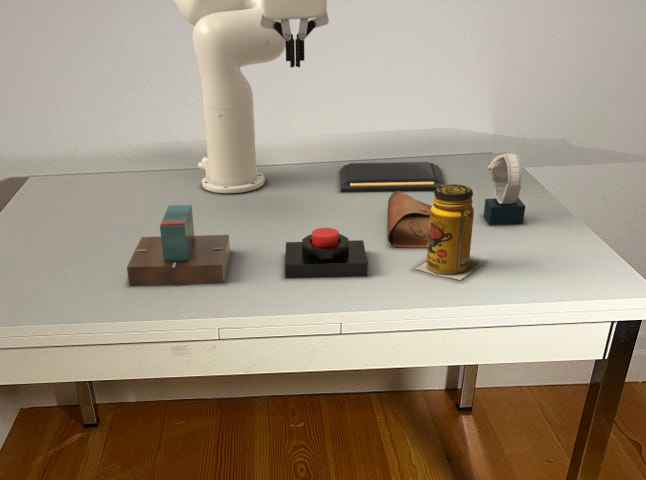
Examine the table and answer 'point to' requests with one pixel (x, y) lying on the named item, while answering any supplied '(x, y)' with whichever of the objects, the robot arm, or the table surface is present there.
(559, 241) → the table surface
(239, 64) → the robot arm
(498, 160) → the watch
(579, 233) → the table surface
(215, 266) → the base
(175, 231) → the teal rectangular block
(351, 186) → the wallet
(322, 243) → the button
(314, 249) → the button box
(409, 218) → the sunglasses case
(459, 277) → the condiment
